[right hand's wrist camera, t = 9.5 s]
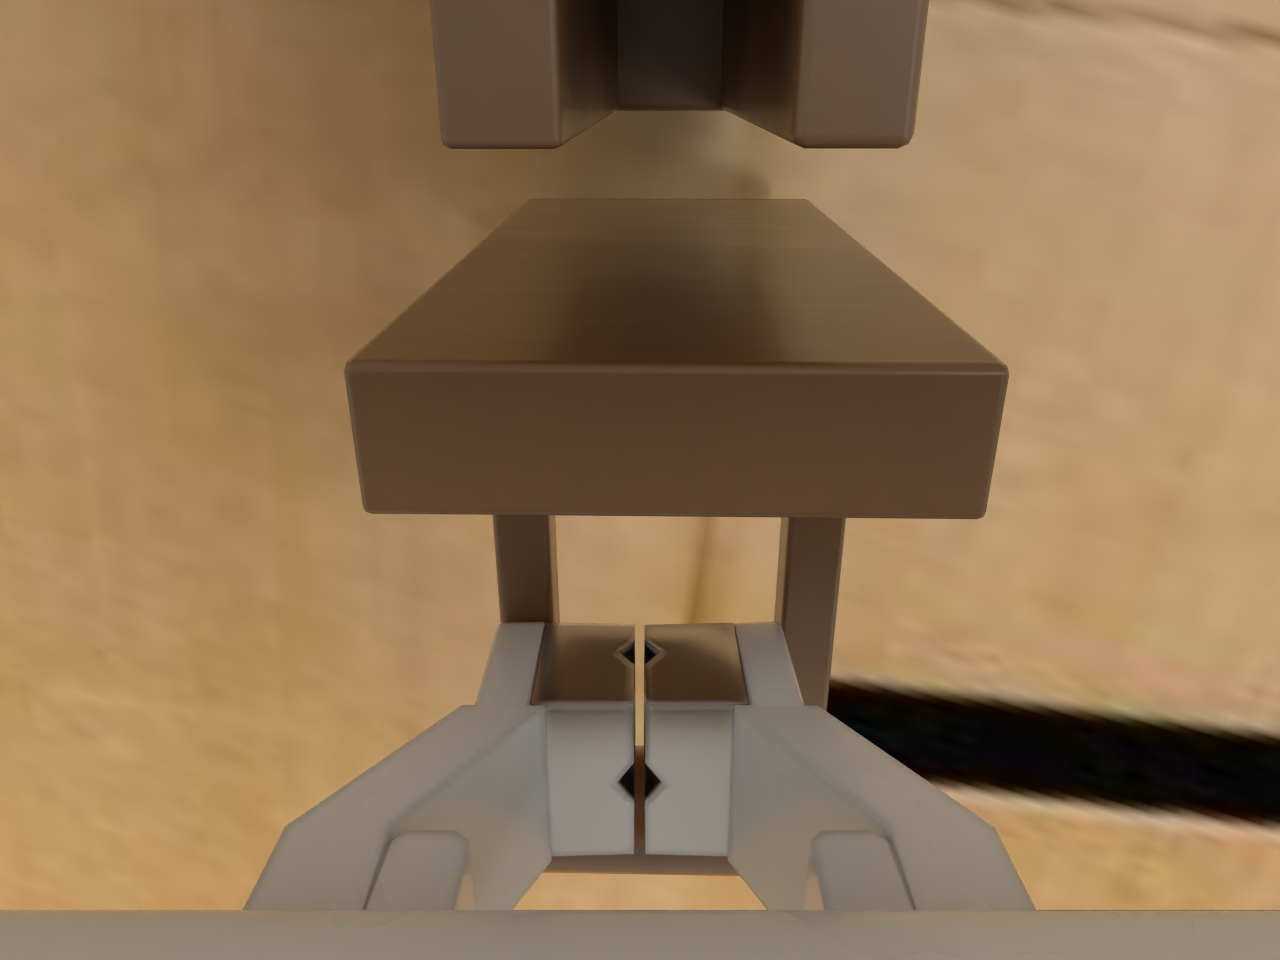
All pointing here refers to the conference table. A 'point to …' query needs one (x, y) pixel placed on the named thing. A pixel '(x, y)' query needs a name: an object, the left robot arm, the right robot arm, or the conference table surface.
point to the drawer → (676, 319)
